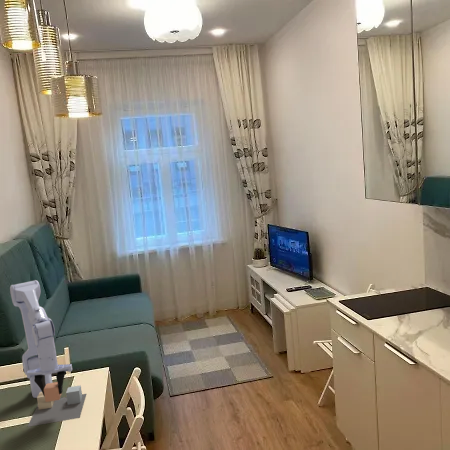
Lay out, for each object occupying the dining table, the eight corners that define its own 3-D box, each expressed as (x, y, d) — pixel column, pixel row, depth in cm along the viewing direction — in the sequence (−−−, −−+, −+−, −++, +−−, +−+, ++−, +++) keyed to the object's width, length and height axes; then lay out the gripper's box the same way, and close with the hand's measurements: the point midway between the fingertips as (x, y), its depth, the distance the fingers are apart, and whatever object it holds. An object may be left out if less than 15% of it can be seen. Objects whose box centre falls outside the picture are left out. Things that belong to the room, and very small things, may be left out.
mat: (39, 402, 177) (39, 401, 177) (86, 394, 179) (86, 393, 179) (27, 428, 159) (27, 426, 159) (79, 419, 162) (79, 417, 162)
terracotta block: (48, 395, 166) (46, 383, 166) (61, 393, 167) (59, 381, 167) (45, 402, 162) (43, 389, 161) (59, 399, 163) (57, 387, 162)
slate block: (69, 399, 176) (68, 387, 176) (82, 396, 177) (80, 385, 176) (67, 404, 172) (66, 392, 171) (80, 402, 173) (78, 390, 172)
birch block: (41, 403, 175) (39, 392, 174) (54, 401, 176) (52, 389, 175) (38, 409, 170) (36, 397, 170) (51, 407, 171) (50, 395, 171)
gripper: (22, 364, 158) (28, 403, 159) (67, 357, 160) (73, 395, 162) (27, 356, 165) (33, 393, 166) (70, 349, 167) (76, 386, 168)
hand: (53, 393), depth 164 cm, fingers closed on terracotta block, 4 cm apart
